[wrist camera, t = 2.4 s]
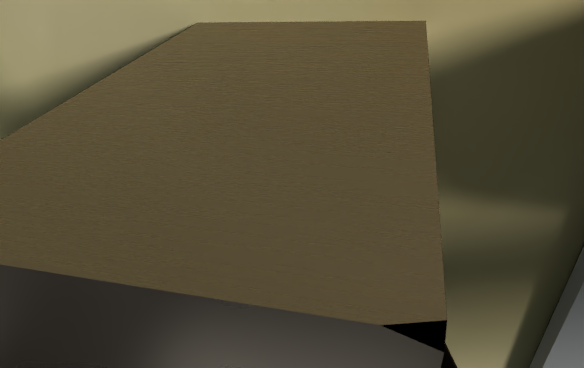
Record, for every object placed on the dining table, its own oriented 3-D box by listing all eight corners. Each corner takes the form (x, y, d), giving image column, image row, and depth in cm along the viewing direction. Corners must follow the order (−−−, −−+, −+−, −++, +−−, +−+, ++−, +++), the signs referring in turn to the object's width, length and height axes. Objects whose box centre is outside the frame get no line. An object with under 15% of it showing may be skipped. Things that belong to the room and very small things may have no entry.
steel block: (425, 19, 7) (449, 337, 2) (386, 371, 12) (367, 674, 8) (199, 21, 8) (-163, 237, 3) (258, 348, 13) (169, 605, 8)
